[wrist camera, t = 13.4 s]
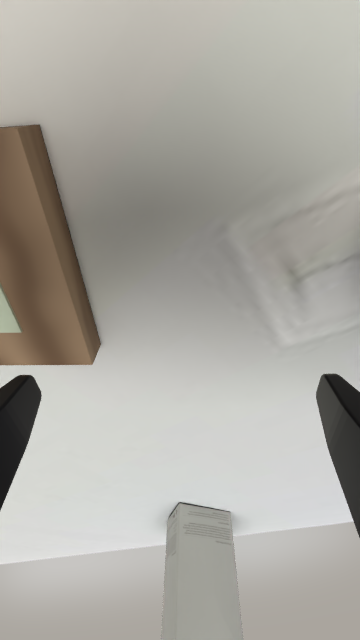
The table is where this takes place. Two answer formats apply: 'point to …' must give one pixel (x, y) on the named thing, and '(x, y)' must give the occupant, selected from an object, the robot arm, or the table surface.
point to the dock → (38, 262)
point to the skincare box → (200, 577)
